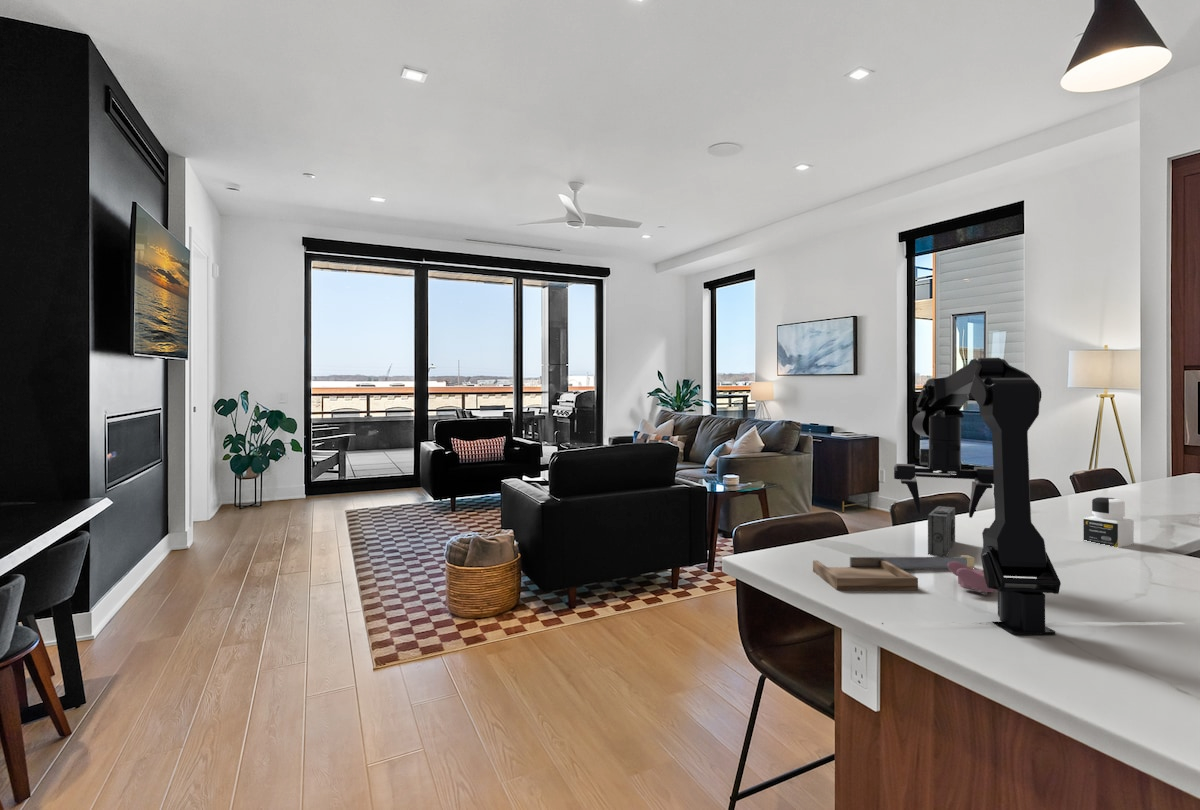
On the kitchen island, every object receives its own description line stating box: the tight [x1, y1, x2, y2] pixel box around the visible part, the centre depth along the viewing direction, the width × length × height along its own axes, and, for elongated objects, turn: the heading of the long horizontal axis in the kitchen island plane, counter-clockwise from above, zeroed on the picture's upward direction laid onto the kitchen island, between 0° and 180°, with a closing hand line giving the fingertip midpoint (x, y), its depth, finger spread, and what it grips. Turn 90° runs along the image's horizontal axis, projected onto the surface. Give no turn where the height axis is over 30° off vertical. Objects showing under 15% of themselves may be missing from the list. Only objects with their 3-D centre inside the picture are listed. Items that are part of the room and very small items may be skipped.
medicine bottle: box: [1083, 496, 1135, 548], centre depth 147 cm, size 7×7×12 cm
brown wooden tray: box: [812, 560, 919, 591], centre depth 120 cm, size 13×15×2 cm
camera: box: [927, 505, 956, 557], centre depth 143 cm, size 16×4×10 cm, turn 143°
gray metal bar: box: [849, 554, 975, 570], centre depth 128 cm, size 2×26×2 cm, turn 90°
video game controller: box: [947, 561, 996, 596], centre depth 114 cm, size 10×5×7 cm
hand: (944, 515), depth 126 cm, fingers open, 9 cm apart
